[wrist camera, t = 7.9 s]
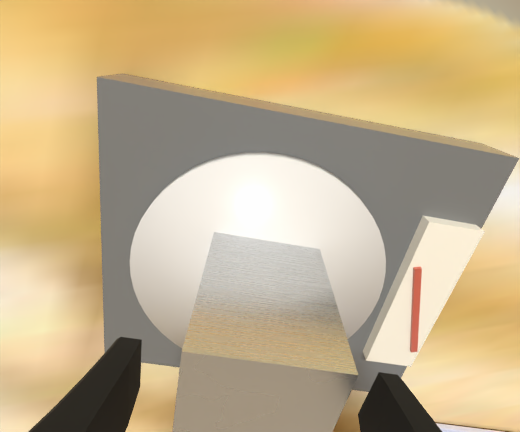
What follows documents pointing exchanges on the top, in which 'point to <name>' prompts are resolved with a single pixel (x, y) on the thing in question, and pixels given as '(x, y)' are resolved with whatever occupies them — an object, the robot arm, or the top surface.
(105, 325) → the scale
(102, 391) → the robot arm
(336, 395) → the block
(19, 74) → the top surface
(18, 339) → the top surface
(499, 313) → the top surface
